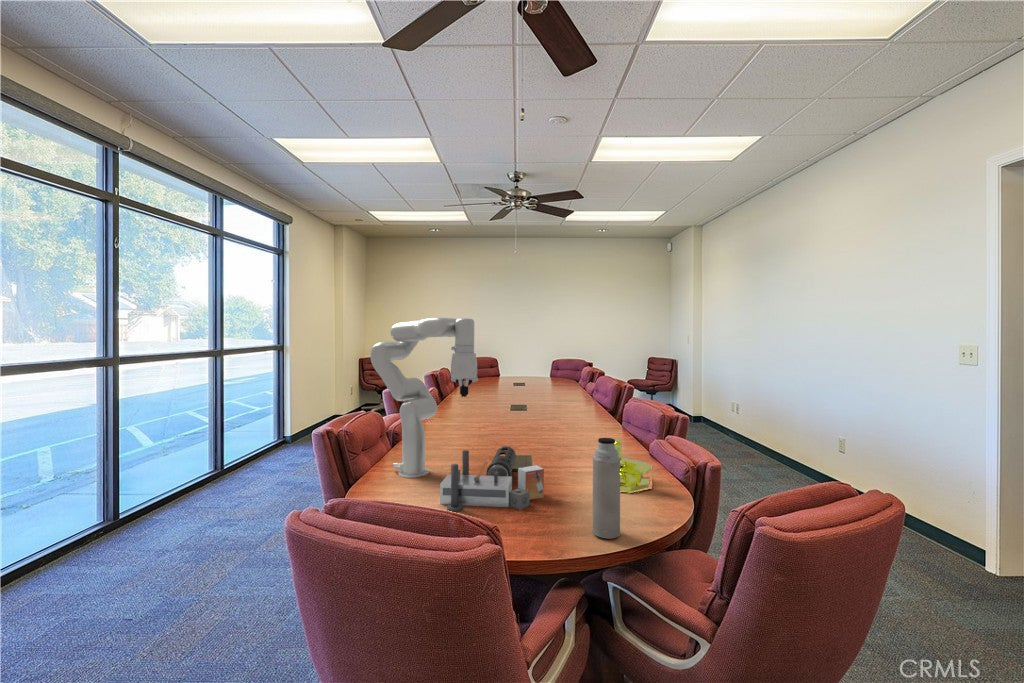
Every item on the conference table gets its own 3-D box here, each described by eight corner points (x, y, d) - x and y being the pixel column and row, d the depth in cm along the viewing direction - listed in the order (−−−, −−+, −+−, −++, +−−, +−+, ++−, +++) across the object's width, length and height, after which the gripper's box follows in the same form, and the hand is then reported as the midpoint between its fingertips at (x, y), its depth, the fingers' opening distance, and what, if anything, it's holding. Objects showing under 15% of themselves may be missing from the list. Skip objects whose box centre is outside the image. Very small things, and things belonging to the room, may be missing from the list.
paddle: (472, 479, 155) (484, 460, 154) (475, 476, 159) (486, 457, 158) (476, 482, 154) (488, 463, 154) (478, 478, 158) (490, 459, 158)
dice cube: (509, 506, 151) (509, 491, 151) (518, 502, 155) (518, 488, 155) (519, 510, 148) (519, 495, 147) (529, 506, 151) (529, 491, 151)
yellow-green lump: (602, 490, 167) (602, 449, 166) (608, 471, 190) (608, 435, 190) (653, 496, 161) (653, 453, 161) (652, 475, 185) (653, 438, 185)
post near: (445, 511, 146) (445, 466, 146) (449, 505, 151) (449, 462, 151) (460, 512, 145) (460, 467, 145) (463, 506, 150) (463, 462, 150)
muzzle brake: (516, 469, 194) (516, 445, 193) (510, 491, 166) (510, 464, 166) (495, 468, 194) (495, 445, 194) (485, 490, 167) (485, 463, 166)
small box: (525, 501, 155) (525, 471, 155) (517, 496, 160) (517, 467, 160) (544, 497, 159) (544, 468, 159) (536, 492, 164) (536, 464, 164)
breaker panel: (439, 504, 152) (439, 475, 152) (447, 493, 163) (447, 466, 163) (508, 507, 150) (508, 478, 149) (511, 495, 161) (512, 468, 161)
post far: (457, 492, 164) (457, 452, 164) (460, 487, 169) (460, 449, 169) (470, 493, 163) (470, 452, 163) (473, 488, 168) (473, 449, 168)
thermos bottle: (594, 525, 136) (595, 434, 135) (621, 528, 133) (621, 436, 133) (590, 536, 128) (591, 440, 128) (618, 540, 125) (619, 442, 125)
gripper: (443, 349, 169) (443, 397, 170) (481, 350, 168) (481, 398, 168) (448, 349, 177) (448, 394, 177) (485, 349, 175) (484, 395, 175)
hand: (464, 396), depth 173 cm, fingers closed
